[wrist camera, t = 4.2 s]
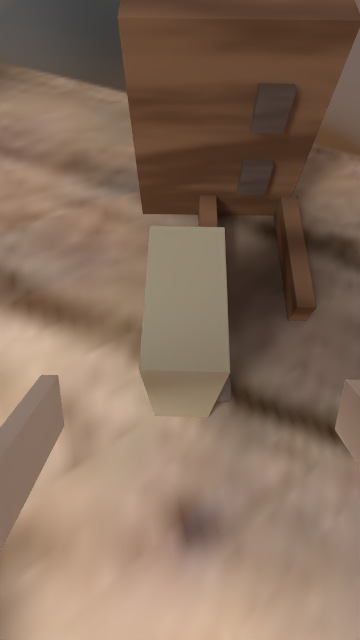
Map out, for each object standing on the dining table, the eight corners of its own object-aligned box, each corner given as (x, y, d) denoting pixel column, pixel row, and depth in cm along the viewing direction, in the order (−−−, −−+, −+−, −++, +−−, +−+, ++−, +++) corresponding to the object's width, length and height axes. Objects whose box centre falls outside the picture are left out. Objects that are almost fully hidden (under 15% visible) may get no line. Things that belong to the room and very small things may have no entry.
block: (222, 417, 26) (255, 372, 15) (154, 416, 26) (138, 369, 15) (219, 321, 29) (245, 227, 18) (160, 319, 29) (150, 225, 19)
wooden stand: (305, 320, 29) (430, 165, 15) (135, 318, 29) (94, 161, 15) (285, 192, 36) (360, -6, 21) (144, 191, 35) (121, -9, 21)
